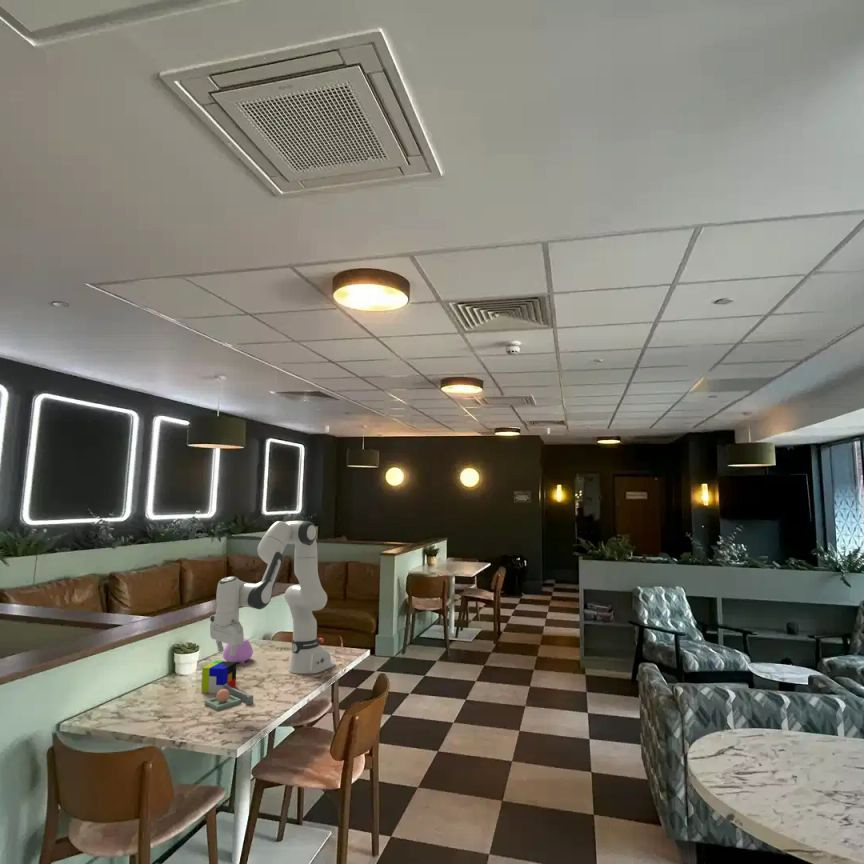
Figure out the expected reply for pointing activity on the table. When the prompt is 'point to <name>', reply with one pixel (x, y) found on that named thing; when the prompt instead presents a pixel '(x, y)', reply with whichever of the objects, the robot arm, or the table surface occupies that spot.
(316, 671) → the robot arm
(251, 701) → the bar with end supports
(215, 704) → the dish
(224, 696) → the ball
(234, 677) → the puzzle toy
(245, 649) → the teapot
